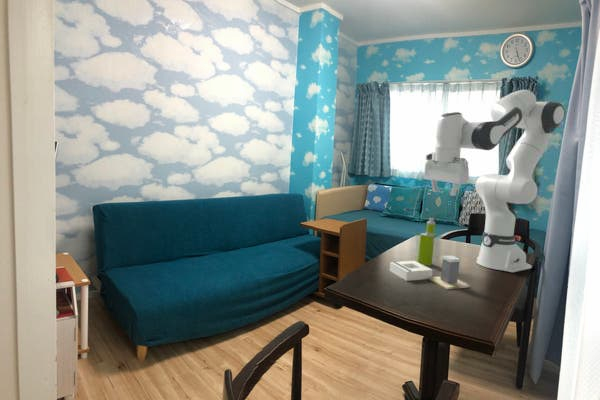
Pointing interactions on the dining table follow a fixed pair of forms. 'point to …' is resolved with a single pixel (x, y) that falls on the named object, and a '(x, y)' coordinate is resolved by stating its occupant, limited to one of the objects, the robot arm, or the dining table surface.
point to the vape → (427, 244)
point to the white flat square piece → (410, 270)
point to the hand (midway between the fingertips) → (443, 193)
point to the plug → (450, 269)
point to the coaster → (451, 285)
